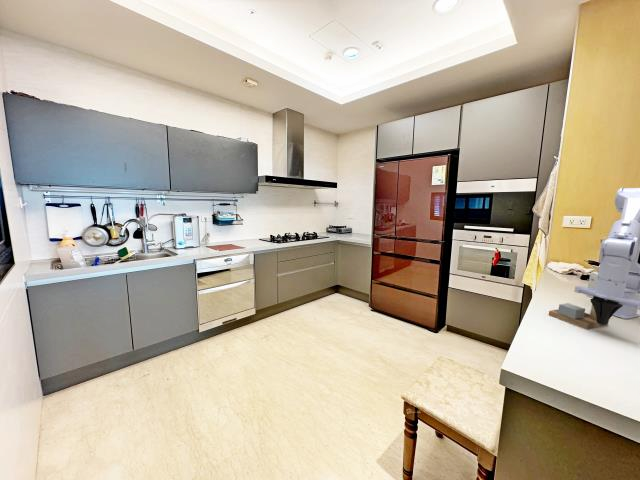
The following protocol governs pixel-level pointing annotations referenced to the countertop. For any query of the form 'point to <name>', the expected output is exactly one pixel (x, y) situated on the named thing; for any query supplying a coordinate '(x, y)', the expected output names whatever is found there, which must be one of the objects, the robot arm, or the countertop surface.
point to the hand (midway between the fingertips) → (601, 323)
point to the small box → (592, 281)
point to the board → (577, 320)
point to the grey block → (571, 311)
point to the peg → (593, 313)
